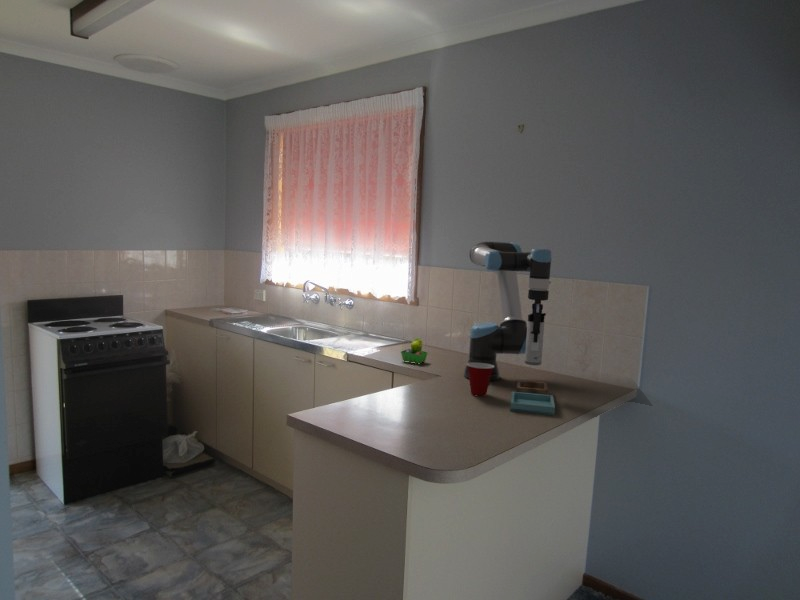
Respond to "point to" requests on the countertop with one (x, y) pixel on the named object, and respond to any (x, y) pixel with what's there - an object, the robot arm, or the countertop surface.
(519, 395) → the tray
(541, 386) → the open wooden box
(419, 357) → the fruit basket
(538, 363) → the travel mug
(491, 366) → the plastic cup
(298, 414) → the countertop surface
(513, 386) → the countertop surface
